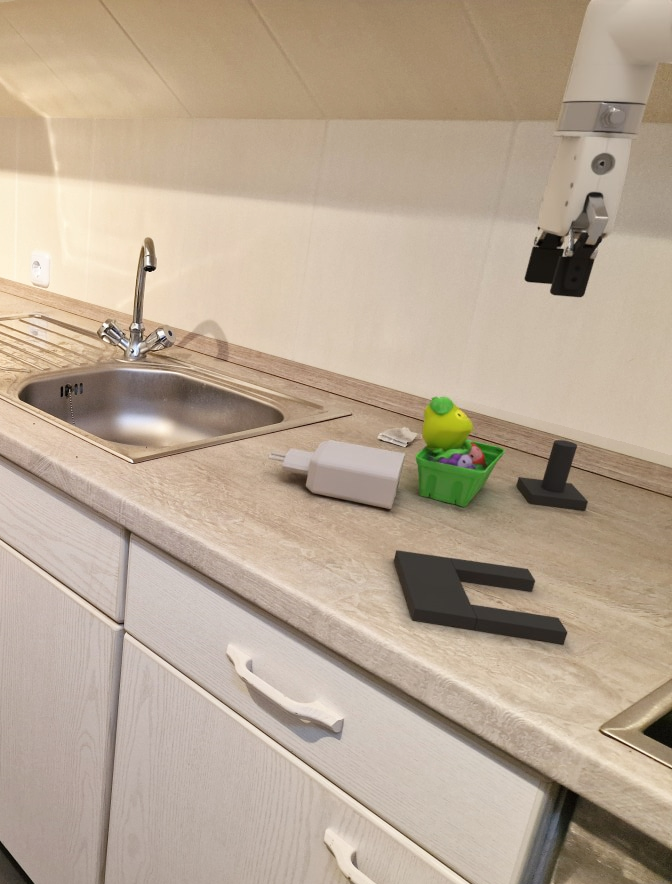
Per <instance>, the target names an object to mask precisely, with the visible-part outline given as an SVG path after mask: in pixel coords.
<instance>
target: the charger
mask: <svg viewBox="0 0 672 884" xmlns="http://www.w3.org/2000/svg"><path fill="white" fill-rule="evenodd" d="M405 457H406V453H405V452H399V451H394V450H388V449H383V448H377V447H371V446H366V445H361V444H356V443H351V442H350V443H349V442H343V441H340V440H339V441H338V440H334V439H328V440H325V441H322V442H320V443H319V445H318V446H317V448H316V449H315V451H314V452H313V451H309V450H302V449H297V448H292V447H290V448H289V449H288V451H287V452H286V453H283V452H277V451H271V453H270V455H268V458H267V459H268V460H273V461H278V462H282V466H281V467H282V470H283V472H289V473H294V474H299V475H304V476H307V477H306V483H305V487H306V489H308V490H309V491H310V492H311V493H312V494H316V495H321V496H326V497H330V498H335V499H340V500H344V501H349V502H354V503H358V504H364V505H369V506H373V507H377V508H383V509H387V510H392V507H393V505H394V501H395V498H396V495H397V492H398V489H399V484H400V480H401V477H402V472H403V468H404V462H405Z"/></svg>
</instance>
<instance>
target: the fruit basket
mask: <svg viewBox="0 0 672 884" xmlns="http://www.w3.org/2000/svg"><path fill="white" fill-rule="evenodd" d="M423 418H424V419H423V424H422V430H421V431H422V432H421V434H422V439H423V441H424V443H425V444H426V445H425V446H424V447H423V448H422V449H421V450H419V452H418V453H416V454H415V461H416V462H415V463H416V464H417V473H418V474H417V475H418V491H419V496H421V497H425V498H430V499H432V500H434V501H439V502H443V503H448V504H451V505H456V506H459V507H462V508H465V507H467V505H468V504H469V503H470V502H471V501H472V500H473V499H474V497H475V496H476V495H478V493H479V492H480V490H481V489H482V488H483V487H484V486H485V484H486V483H487V480H488V479H489V477H490V476H491V474H492V472H493V470H494V469H495V466H496V465H497V464H498V462H499V461H500V460H501V458H502V457H503V455H504V454H505V452H506V449H504V448H502V447H500V446H496V445H492V444H487V443H483V442H478V441H473V440H471V439H467V438H468V437H469V435H470V434H471V433H472V432H473V431H474V424H473V422H472V420H471V419H470V418H469V417H468V416H467V414H466V413H465V412H464V411H462V410H461V409H460V408H459V407H458V406H457V405H456V404H455V403H454V401H453V400H452V399H451V398H449V397H447V396H440V397H438V396H433V397H431V400H430V402H429V403H428V404H427V405H426V406H425V408H424V410H423Z"/></svg>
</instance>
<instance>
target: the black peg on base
mask: <svg viewBox="0 0 672 884" xmlns="http://www.w3.org/2000/svg"><path fill="white" fill-rule="evenodd" d="M577 447H578V444H576V443H575V442H572V441H569V440H564V439H556V440H554V441H553V443H552V447H551V450H550V453H549V458H548V461H547V464H546V467H545V471H544V474H543V478H542V479H539V478H538V479H537V478H531V477H523V476H518V478H517V480H516V481H517V482H516V485H515V486H516V488H517V489H518V490H519V492H520V493H521V494H522V495H523V496H524V499H526V501H527V503H529V504H531V505H538V506H539V505H540V506H545V507H554V508H560V509H561V508H562V509H570V510H577V511H586V510H587V507H588V503H589V501H588V500H587V498H586V497H585V496H584V495H583V494H582V493H581V492H580V491H579V490H578V488H576V486H575V485H574V484H573V483H571V482H567V481H568V478H569V476H570V475H569V474H570V471H571V468H572V465H573V461H574V458H575V455H576V451H577Z"/></svg>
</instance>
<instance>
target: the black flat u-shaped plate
mask: <svg viewBox="0 0 672 884" xmlns="http://www.w3.org/2000/svg"><path fill="white" fill-rule="evenodd" d="M393 563H394V565H395V569H396V572H397V575H398V579H399V582H400V585H401V589H402V592H403V595H404V598H405V601H406V604H407V608H408V610H409V614H410V617H411V620H412V621H416V622H422V623H429V624H435V625H441V626H447V627H451V628H452V627H453V628H459V629H466V630H471V631H478V632H483V633H489V634H496V635H503V636H508V637H509V636H510V637H515V638H521V639H528V640H533V641H541V642H546V643H553V644H558V645H559V644H560V645H565V642H566V639H567V636H568V633H569V632H568V630H567V629H566V628H565V626H564V624H563V623H562V621H561V620H560V618H559V617H555V616H550V615H543V614H537V613H530V612H523V611H518V610H517V611H516V610H510V609H503V608H498V607H491V606H483V605H478V604H471V602H470V599H469V597H468V595H467V592H466V591H465V588H464V586H463V584H462V582H464V583H472V584H477V585H485V586H491V587H498V588H506V589H512V590H519V591H525V592H531V593H532V592H533V589H534V586H535V583H536V579H535V577H534V576H533V575H532V573H531V572H530V570H529V569H528V568H525V567H523V568H522V567H517V566H510V565H503V564H498V563H489V562H482V561H475V560H469V559H461V558H453V557H446V556H439V555H433V554H425V553H419V552H411V551H404V550H399V549H398V550H395V554H394V558H393Z"/></svg>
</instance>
